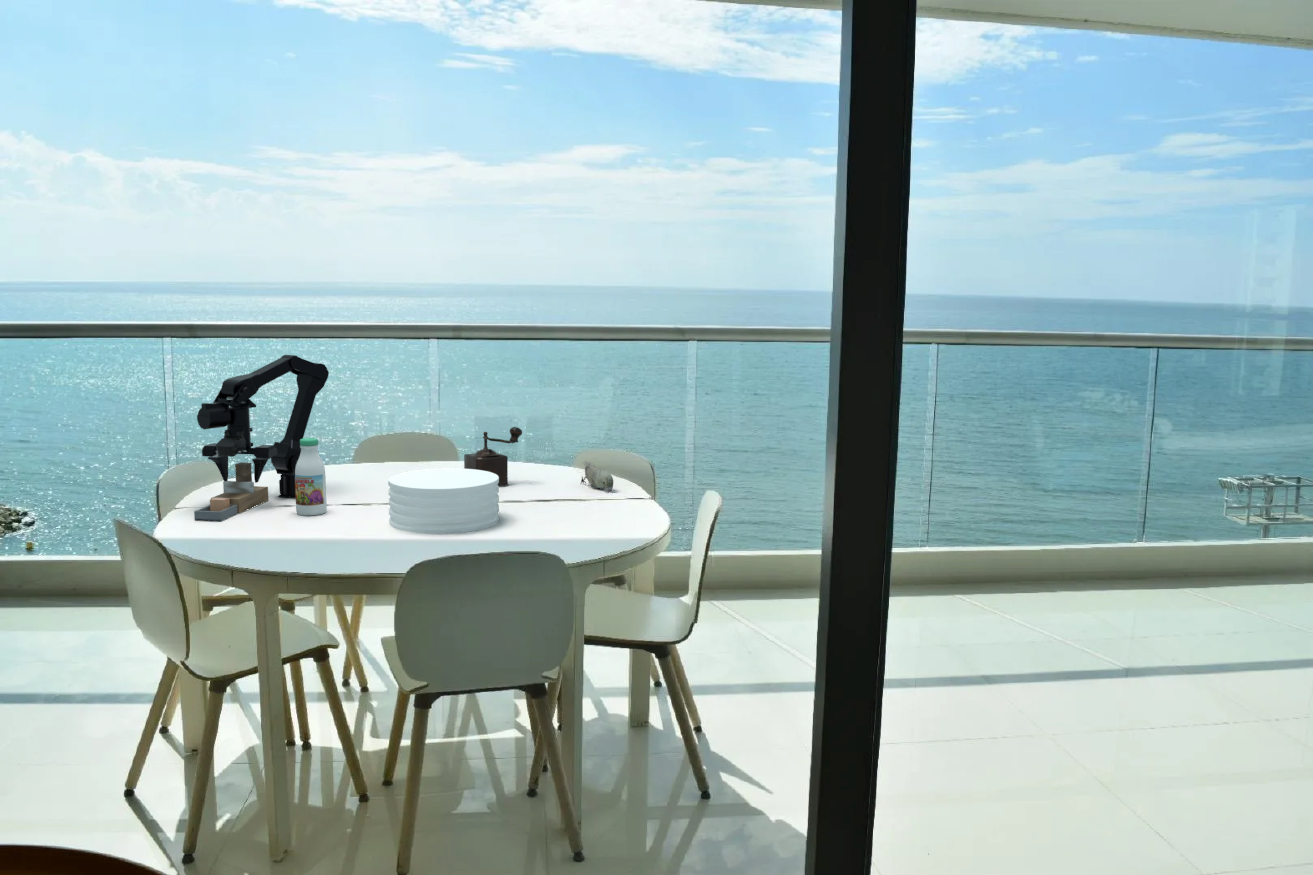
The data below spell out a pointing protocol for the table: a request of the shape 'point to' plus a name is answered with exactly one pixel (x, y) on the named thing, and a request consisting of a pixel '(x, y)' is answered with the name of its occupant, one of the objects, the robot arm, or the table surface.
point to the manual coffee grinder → (492, 458)
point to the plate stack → (443, 500)
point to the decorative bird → (597, 477)
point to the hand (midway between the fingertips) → (241, 481)
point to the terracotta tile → (219, 504)
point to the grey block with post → (240, 480)
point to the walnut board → (246, 498)
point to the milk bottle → (310, 480)
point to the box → (215, 514)
